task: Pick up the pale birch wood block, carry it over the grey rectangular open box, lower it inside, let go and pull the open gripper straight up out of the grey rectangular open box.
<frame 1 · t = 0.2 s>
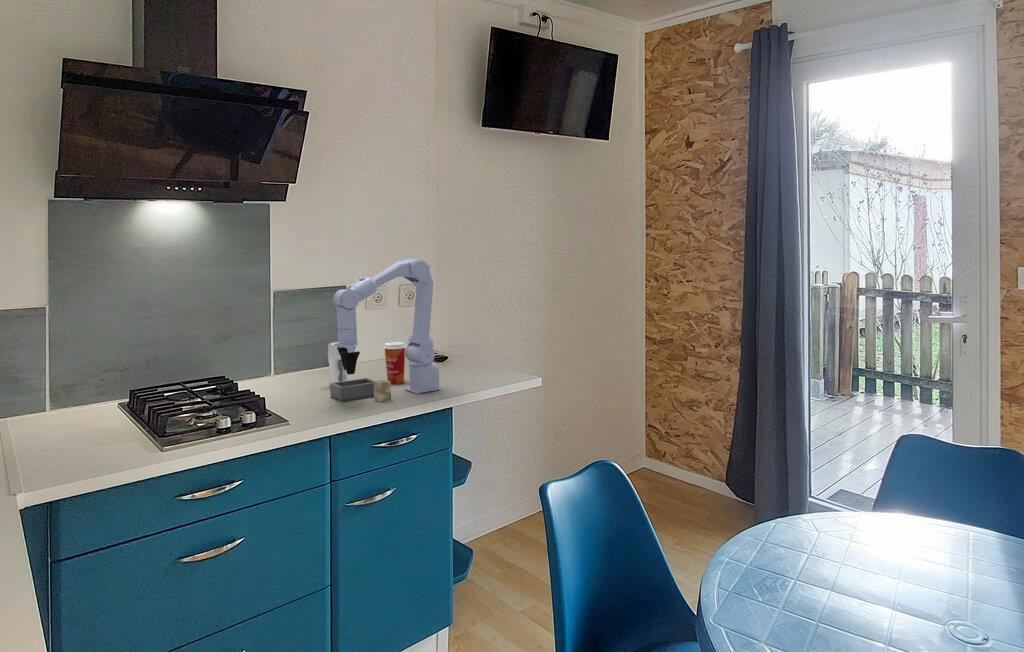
hand: (349, 371, 213), 10 cm above the table, tool pointing down, fingers open, 7 cm apart
birch block: (382, 400, 217), on the table
paper cup: (396, 383, 242), on the table
grey rectangular open box: (354, 396, 222), on the table
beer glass: (339, 386, 237), on the table
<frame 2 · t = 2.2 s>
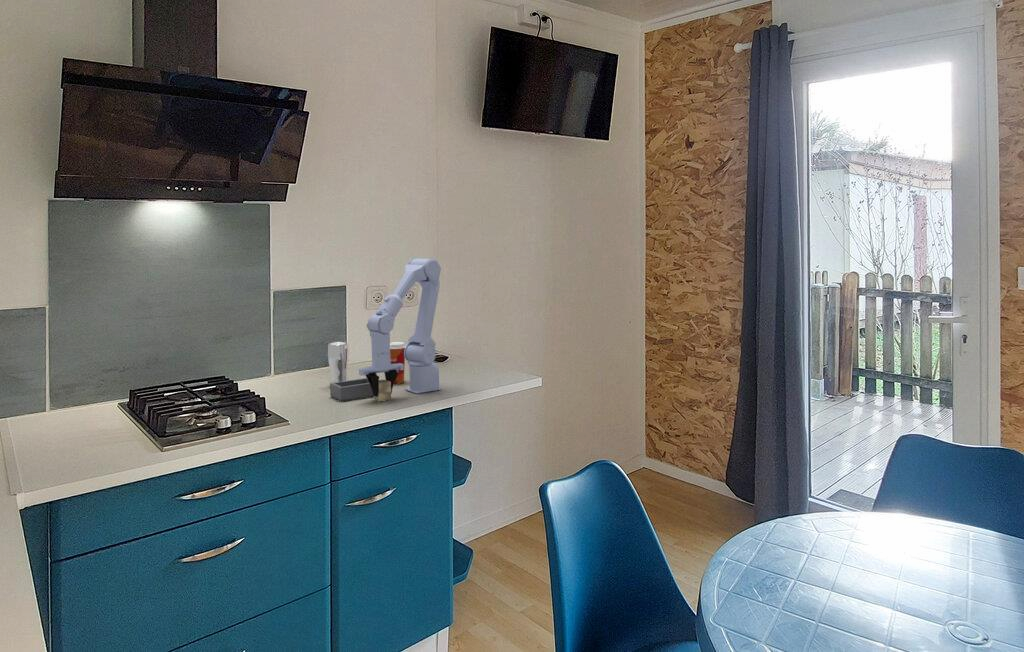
hand: (382, 394, 217), 2 cm above the table, tool pointing down, fingers closed on birch block, 4 cm apart
birch block: (382, 399, 217), on the table, touching gripper
everything else where it was.
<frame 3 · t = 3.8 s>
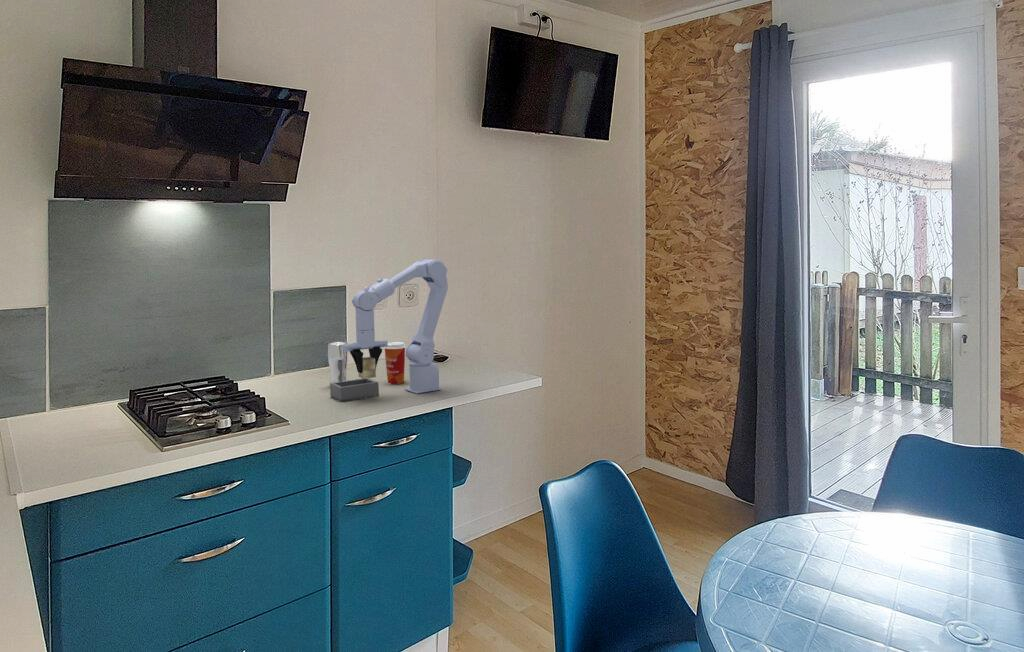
hand: (366, 371, 219), 9 cm above the table, tool pointing down, fingers closed on birch block, 4 cm apart
birch block: (367, 376, 219), point 7 cm above the table, touching gripper
everything else where it was.
when the fingers open (4 cm above the table, at t = 5.7 s): birch block drops 1 cm, resting on grey rectangular open box.
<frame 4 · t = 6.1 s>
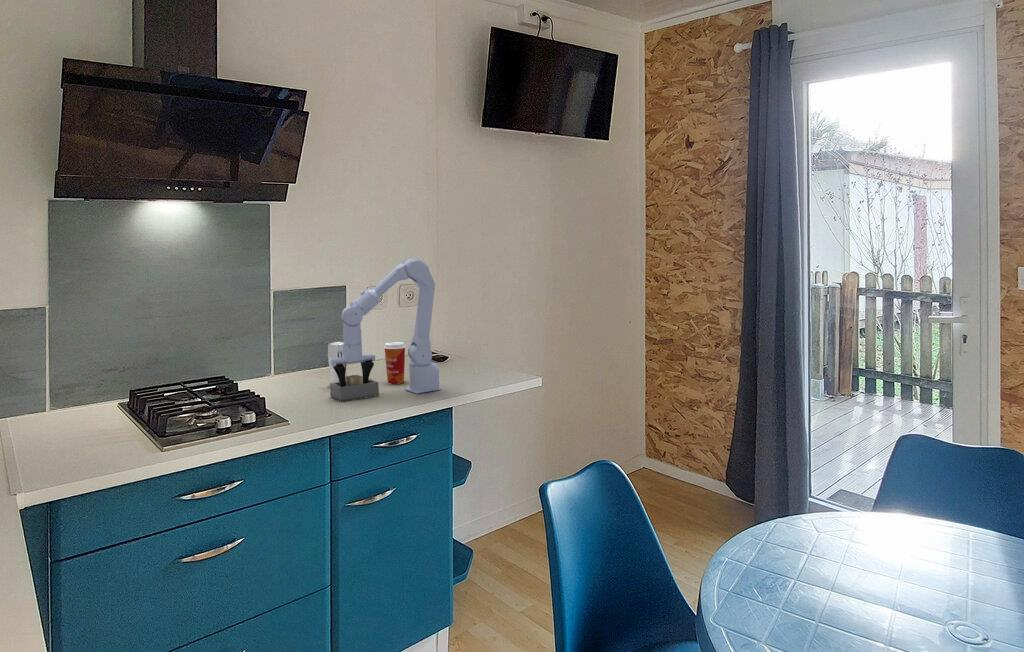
hand: (354, 385, 222), 4 cm above the table, tool pointing down, fingers open, 7 cm apart
birch block: (355, 394, 222), point 1 cm above the table, touching grey rectangular open box
everything else where it was.
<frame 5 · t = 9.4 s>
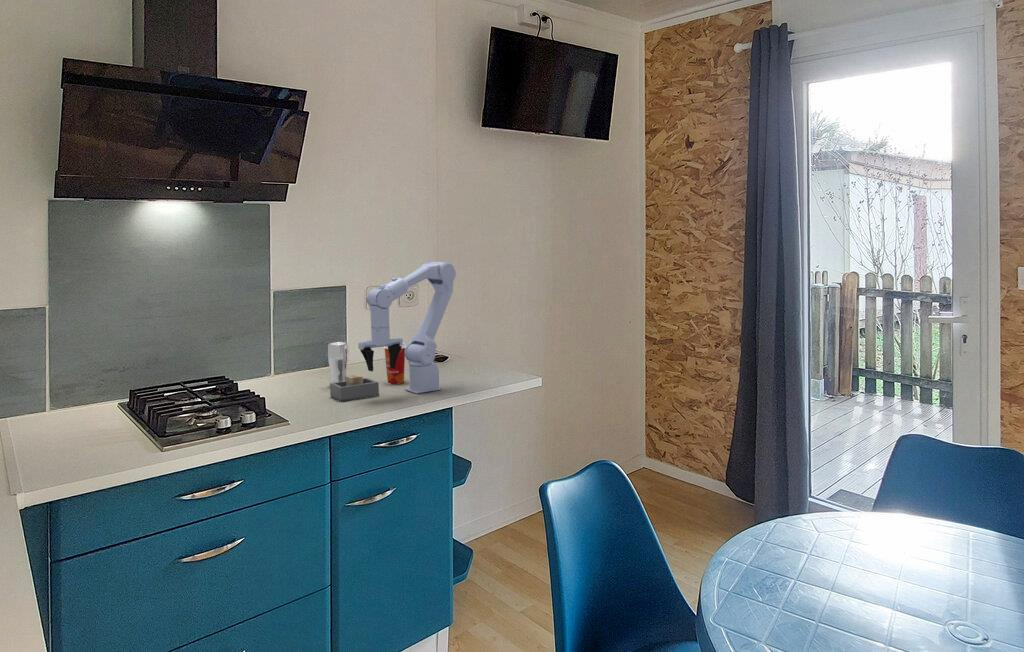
hand: (381, 369, 218), 9 cm above the table, tool pointing down, fingers open, 7 cm apart
nothing on the table moved.
at the end: birch block 0.2 cm off-centre on the grey rectangular open box, point 0.6 cm above the grey rectangular open box's base; birch block tilted 0°; the gripper is holding nothing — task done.
